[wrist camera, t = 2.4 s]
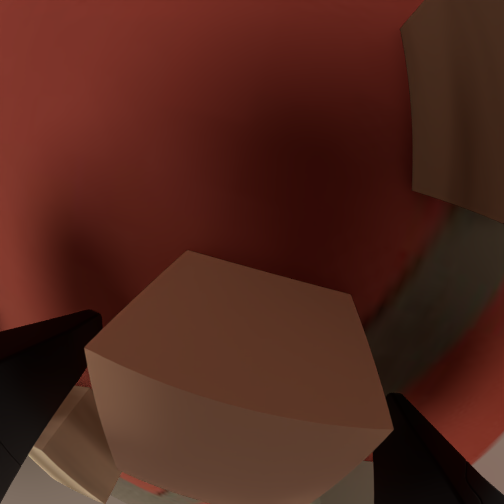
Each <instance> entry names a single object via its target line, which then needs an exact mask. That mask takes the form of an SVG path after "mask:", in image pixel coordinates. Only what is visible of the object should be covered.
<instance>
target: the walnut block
mask: <svg viewBox="0 0 504 504" xmlns="http://www.w3.org/2000/svg"><path fill="white" fill-rule="evenodd" d="M400 31H401V36H402V42H403V47H404V53H405V59H406V66H407V73H408V82H409V91H410V102H411V116H412V142H413V169H412V191H415V192H418V193H421V194H424V195H428V196H431V197H434V198H437V199H440V200H443V201H446V202H449V203H451V204H454V205H457V206H460V207H463V208H465V209H468V210H471V211H473V212H476V213H478V214H481V215H484V216H486V217H489V218H491V219H493V220H496V221H498V222H501V223H503V224H504V0H424V1H423V3H422V4H421V5H420V6H419V7H418V8H417V10H416V11H415V12H414V13H413V14H412V15H411V16H410V18H409V19H408V20H407V21H406V22H405V23H404V25H403V26H402V27H401V28H400Z"/></svg>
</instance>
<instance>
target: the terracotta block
mask: <svg viewBox="0 0 504 504" xmlns="http://www.w3.org/2000/svg"><path fill="white" fill-rule="evenodd" d="M84 349H85V355H86V361H87V366H88V371H89V376H90V381H91V385H92V390H93V394H94V398H95V402H96V406H97V409H98V413H99V417H100V420H101V424H102V427H103V430H104V433H105V436H106V440H107V443H108V445H109V448H110V451H111V454H112V457H113V459H114V462H115V465H116V467H117V469H118V470H120V471H122V472H124V473H126V474H128V475H130V476H133V477H135V478H137V479H140V480H142V481H144V482H147V483H149V484H152V485H154V486H157V487H160V488H162V489H165V490H168V491H171V492H174V493H177V494H180V495H183V496H186V497H189V498H193V499H196V500H200V501H203V502H207V503H211V504H311V503H312V502H313V501H315V500H316V499H317V498H319V497H320V496H321V495H323V494H324V493H325V492H327V491H328V490H329V489H331V488H332V487H333V486H334V485H336V484H337V483H338V482H339V481H341V480H342V479H343V478H344V477H345V476H346V475H348V474H349V473H350V472H351V471H352V470H353V469H355V468H356V467H357V466H358V465H359V464H360V463H361V462H362V461H363V460H364V459H365V458H366V457H368V456H369V455H370V454H371V453H372V452H373V451H374V450H375V449H376V448H377V447H378V446H379V445H380V444H381V443H382V442H383V441H384V440H385V439H386V438H387V436H388V435H389V434H390V433H391V432H392V431H393V430H394V428H393V424H392V420H391V417H390V413H389V409H388V406H387V402H386V399H385V395H384V392H383V388H382V385H381V382H380V378H379V375H378V372H377V369H376V365H375V362H374V359H373V356H372V353H371V350H370V347H369V344H368V341H367V338H366V335H365V332H364V329H363V327H362V324H361V321H360V318H359V315H358V313H357V310H356V307H355V305H354V302H353V299H352V297H351V294H347V293H343V292H339V291H335V290H332V289H328V288H324V287H320V286H316V285H313V284H309V283H305V282H301V281H298V280H294V279H290V278H287V277H283V276H279V275H275V274H272V273H268V272H264V271H261V270H257V269H254V268H250V267H246V266H243V265H239V264H235V263H232V262H228V261H225V260H221V259H218V258H214V257H210V256H207V255H203V254H200V253H196V252H193V251H189V250H187V251H186V252H184V253H183V254H182V255H181V256H180V257H179V258H178V259H177V260H175V261H174V262H173V263H172V264H171V265H170V266H169V267H168V268H167V269H166V270H164V271H163V272H162V273H161V274H160V275H159V276H158V277H157V278H156V279H155V280H154V281H152V282H151V283H150V284H149V285H148V286H147V287H146V288H145V289H144V290H143V291H142V292H141V293H140V294H138V295H137V296H136V297H135V298H134V299H133V300H132V301H131V302H130V303H129V304H128V305H127V306H126V307H125V308H124V309H123V310H122V311H121V312H120V313H119V314H117V315H116V316H115V317H114V318H113V319H112V320H111V321H110V322H109V323H108V324H107V325H106V326H105V327H104V328H103V329H102V330H101V331H100V332H99V333H98V334H97V335H96V336H95V337H94V338H93V339H92V340H91V341H90V342H89V343H88V344H87V345H86V346H85V347H84Z"/></svg>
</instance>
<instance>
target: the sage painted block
mask: <svg viewBox="0 0 504 504" xmlns="http://www.w3.org/2000/svg"><path fill="white" fill-rule="evenodd" d="M311 504H374V471H373V462H369V461H362V462H361V463H360V464H359V465H358V466H357V467H356V468H355V469H353V470H352V471H351V472H350V473H349V474H348V475H346V476H345V477H344V478H343V479H342V480H341V481H339V482H338V483H337V484H336V485H334V486H333V487H332V488H331V489H329V490H328V491H327V492H325V493H324V494H323V495H321V496H320V497H319V498H317V499H316V500H315V501H313V502H312V503H311Z"/></svg>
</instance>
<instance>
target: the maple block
mask: <svg viewBox="0 0 504 504" xmlns="http://www.w3.org/2000/svg"><path fill="white" fill-rule="evenodd" d="M28 455H29V457H30V458H32V459H33V460H34V461H35V462H36V463H37V464H38V465H39V466H40V467H41V468H42V469H43V470H44V471H45V472H46V473H48V474H49V475H50V476H51V477H52V478H53V479H55V480H56V481H58V482H60V483H62V484H64V485H66V486H67V487H69V488H71V489H73V490H75V491H77V492H79V493H81V494H83V495H85V496H87V497H90V498H92V499H94V500H96V501H99V502H101V503H104V504H105V503H106V501H107V500H108V497H109V496H110V494H111V492H112V490H113V488H114V486H115V484H116V482H117V480H118V478H119V476H120V475H121V473H122V471H120V470H118V469H117V467H116V465H115V462H114V459H113V457H112V454H111V451H110V448H109V445H108V443H107V440H106V436H105V433H104V430H103V427H102V424H101V420H100V417H99V413H98V409H97V406H96V402H95V398H94V394H93V391H92V390H91V388H89V387H81V386H74V387H73V388H72V390H71V391H70V393H69V394H68V396H67V397H66V398H65V400H64V401H63V403H62V404H61V405H60V407H59V408H58V410H57V411H56V413H55V414H54V416H53V417H52V419H51V420H50V422H49V423H48V425H47V426H46V428H45V429H44V431H43V432H42V434H41V435H40V437H39V438H38V440H37V441H36V443H35V445H34V446H33V448H32V449H31V451H30V452H29V454H28Z"/></svg>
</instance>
